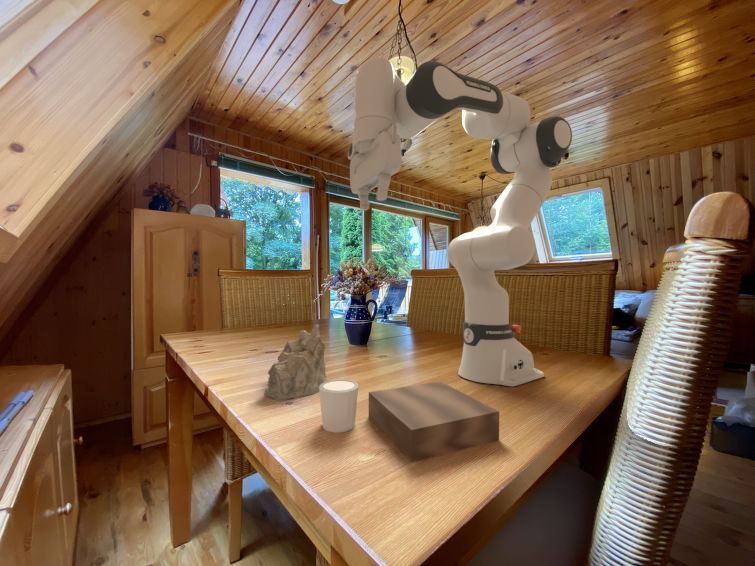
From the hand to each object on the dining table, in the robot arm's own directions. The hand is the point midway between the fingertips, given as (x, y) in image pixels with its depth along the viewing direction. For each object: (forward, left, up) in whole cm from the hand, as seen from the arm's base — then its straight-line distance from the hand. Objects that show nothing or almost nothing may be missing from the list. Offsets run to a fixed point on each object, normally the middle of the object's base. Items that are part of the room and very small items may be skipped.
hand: (372, 205), depth 67 cm
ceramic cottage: (+14, -15, -42) cm, 47 cm away
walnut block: (-4, +16, -42) cm, 45 cm away
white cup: (+10, +9, -42) cm, 44 cm away
